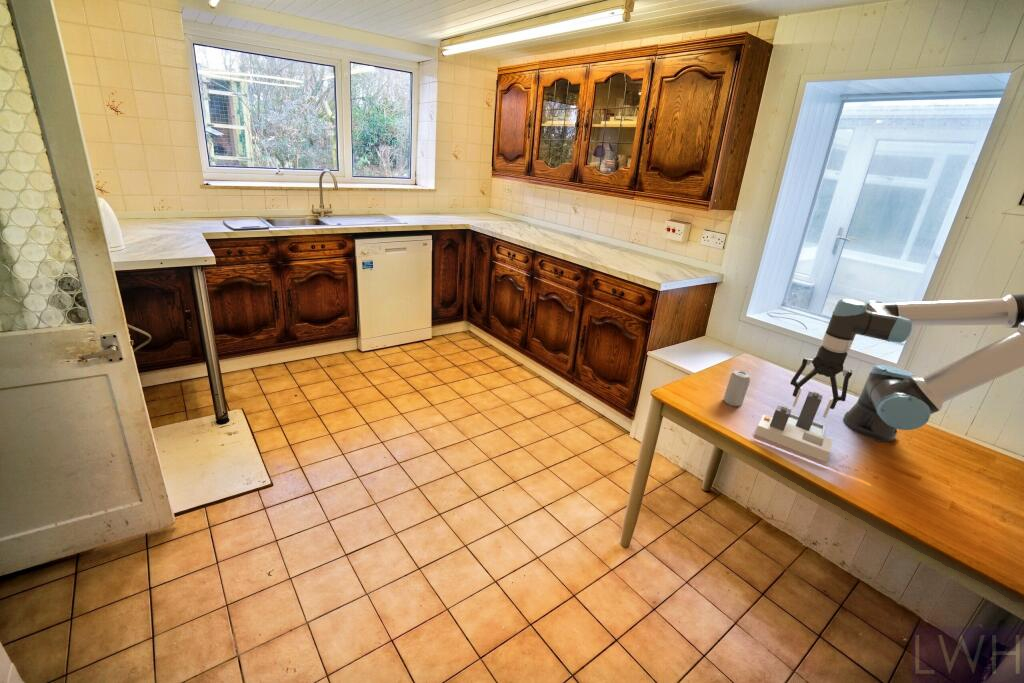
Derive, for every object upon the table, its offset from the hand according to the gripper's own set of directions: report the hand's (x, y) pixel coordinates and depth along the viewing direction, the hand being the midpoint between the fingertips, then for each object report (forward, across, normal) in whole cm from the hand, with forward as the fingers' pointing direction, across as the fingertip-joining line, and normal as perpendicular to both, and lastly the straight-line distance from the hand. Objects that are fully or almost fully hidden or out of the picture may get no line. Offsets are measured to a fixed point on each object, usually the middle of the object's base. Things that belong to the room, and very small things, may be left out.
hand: (809, 410), depth 157 cm
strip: (+7, +2, +13) cm, 15 cm away
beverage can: (+7, +23, 0) cm, 24 cm away
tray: (+7, 0, 0) cm, 7 cm away
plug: (+6, 0, 0) cm, 6 cm away
